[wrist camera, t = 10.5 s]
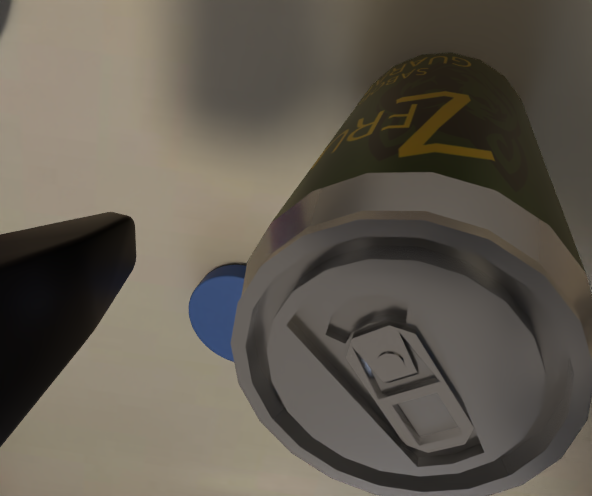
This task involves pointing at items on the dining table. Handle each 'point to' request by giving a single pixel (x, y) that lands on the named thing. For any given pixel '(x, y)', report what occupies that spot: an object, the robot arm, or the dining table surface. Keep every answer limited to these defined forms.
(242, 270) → the blue handled disc
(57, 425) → the dining table surface
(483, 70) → the beer can
